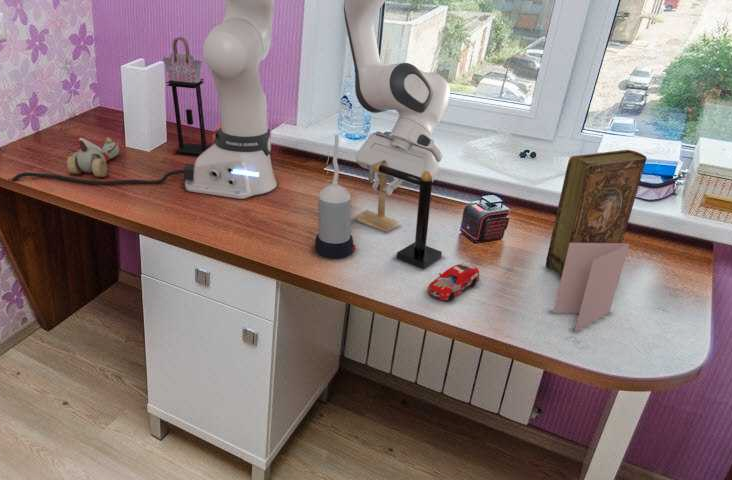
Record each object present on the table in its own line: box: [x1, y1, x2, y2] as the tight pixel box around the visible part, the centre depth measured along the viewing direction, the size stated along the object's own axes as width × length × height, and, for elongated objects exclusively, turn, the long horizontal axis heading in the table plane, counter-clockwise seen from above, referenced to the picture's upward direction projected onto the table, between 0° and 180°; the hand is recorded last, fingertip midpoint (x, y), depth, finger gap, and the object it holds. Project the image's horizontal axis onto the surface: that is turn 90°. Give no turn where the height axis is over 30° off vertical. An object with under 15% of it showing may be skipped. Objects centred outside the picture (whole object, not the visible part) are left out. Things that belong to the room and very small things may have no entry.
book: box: [545, 149, 647, 278], centre depth 133 cm, size 16×6×25 cm, turn 117°
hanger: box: [356, 160, 398, 233], centre depth 147 cm, size 6×9×15 cm, turn 56°
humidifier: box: [314, 134, 356, 260], centre depth 132 cm, size 8×8×25 cm
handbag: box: [162, 36, 211, 157], centre depth 174 cm, size 10×7×30 cm
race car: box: [427, 263, 480, 302], centre depth 128 cm, size 13×5×4 cm, turn 140°
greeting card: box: [552, 242, 630, 332], centre depth 118 cm, size 11×7×15 cm, turn 97°
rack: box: [374, 163, 443, 270], centre depth 135 cm, size 7×16×20 cm, turn 56°
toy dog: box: [66, 136, 120, 178], centre depth 165 cm, size 12×19×9 cm, turn 19°
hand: (380, 191), depth 148 cm, fingers closed on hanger
